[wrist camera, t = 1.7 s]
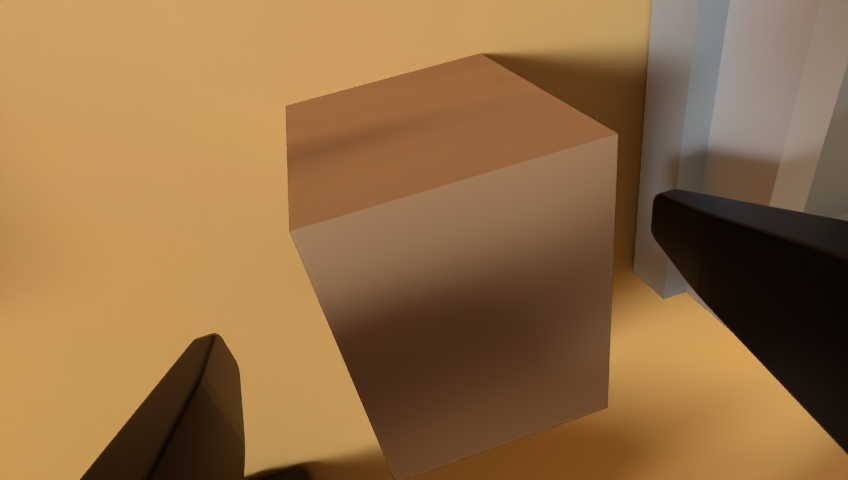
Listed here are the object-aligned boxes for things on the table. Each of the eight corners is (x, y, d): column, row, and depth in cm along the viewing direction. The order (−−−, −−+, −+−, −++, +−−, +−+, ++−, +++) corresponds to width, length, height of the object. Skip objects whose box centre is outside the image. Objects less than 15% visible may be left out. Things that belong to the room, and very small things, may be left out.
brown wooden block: (504, 259, 14) (607, 407, 10) (358, 305, 14) (396, 483, 9) (479, 52, 11) (618, 133, 6) (285, 105, 11) (289, 231, 6)
